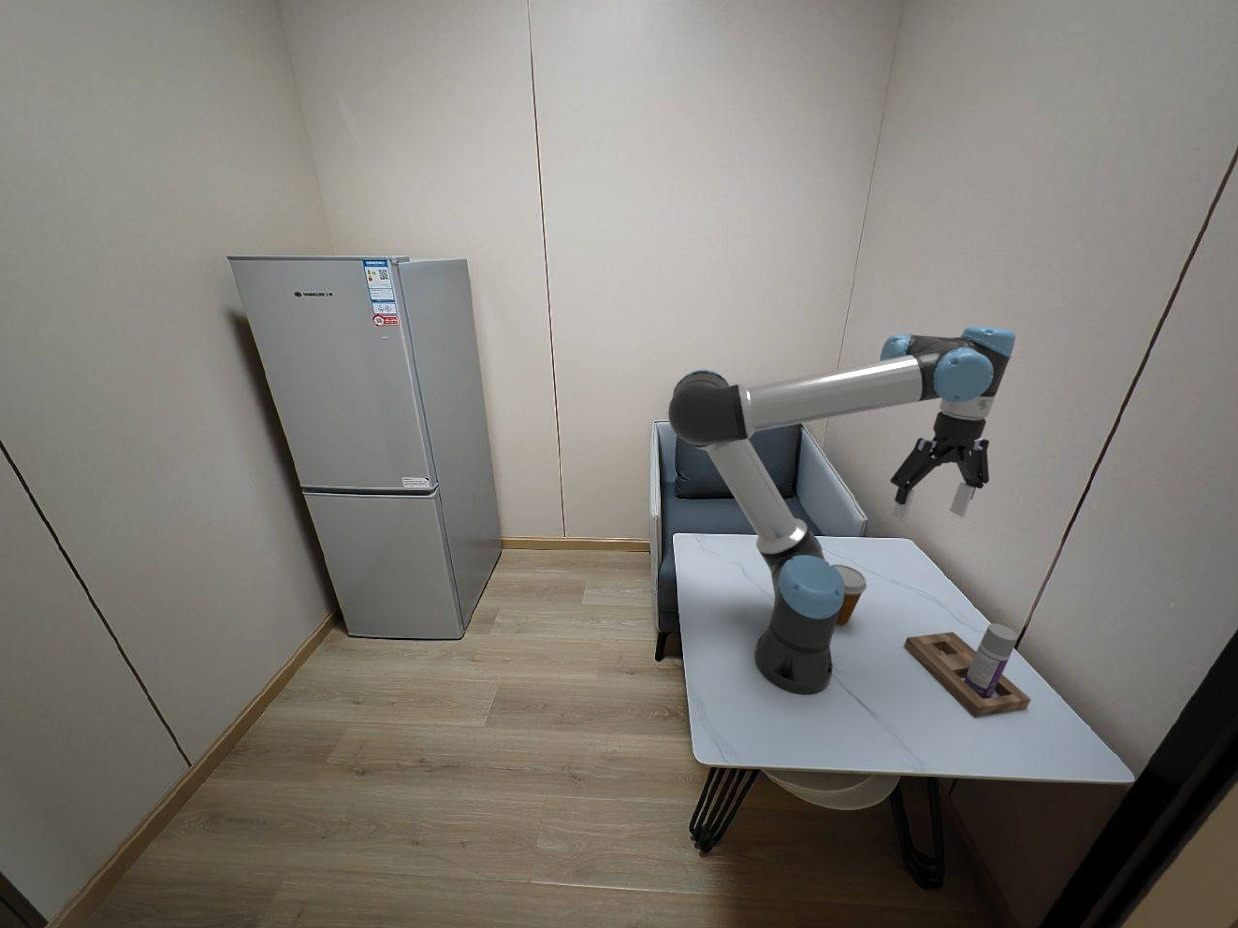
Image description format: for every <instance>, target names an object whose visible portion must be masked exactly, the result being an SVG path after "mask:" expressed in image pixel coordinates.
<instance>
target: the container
mask: <svg viewBox="0 0 1238 928" xmlns="http://www.w3.org/2000/svg"><path fill="white" fill-rule="evenodd" d="M1017 642H1018V635H1017V633H1016V632H1015V631H1014V630H1013V629H1011V628H1010V627H1008V626H1006V625H1004V624H999V623H994V622H993V623H990V624H989V625H988V626H987V628H986V630H985V633H984V634H983V637H982V639H981V640H980V643H979V644H978V648H977V649H976V654H975V656H974V658H973V661H972V663H971V665H970V668H969V670H968V672H967V675H966V677H964V679H963V681H964V682H965V683H966V684H967V685H968V686H969V687H971V688H972V689H973V690H974V691H975V692H976V693H977V694H978V695H979V696H980V697H981V698H982V699H987V698H992V695H993V693H994V692H995V691H994V689H995V687H996V685H997V683H998V681H999V679H1000V676H1001V674H1003V672H1004V669H1005V668H1006V665H1007V664H1008V661H1009V660H1010V658H1011V655H1012V652H1013V650H1014V648H1015V645H1016V643H1017Z"/></svg>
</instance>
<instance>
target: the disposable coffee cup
mask: <svg viewBox="0 0 1238 928" xmlns="http://www.w3.org/2000/svg"><path fill="white" fill-rule="evenodd" d="M829 566H834V567H835V568H836V569H837V570H838V571H839V573H840V574H841V576H842V578H843V580H844V585H845V589H844V600H843V603H842V606H841V608H840V611H839V615H838V618H837V622H836V625H835V626H844V625H846V624H848V623H849V621H850V619H851V616H852V614H853V612H854V610H855V609H856V606H857V604H858V602H859V600H860V598H861V596H862V594H863V593H864V592H865V590H867V586H868V584H867V581H866V577H865V576H864V574H863V573H862V572H860V571H859V570H858V569H856V568H854V567H851V566H848V565H846V564H838V563H835V564H829Z"/></svg>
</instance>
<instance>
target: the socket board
mask: <svg viewBox="0 0 1238 928" xmlns="http://www.w3.org/2000/svg"><path fill="white" fill-rule="evenodd" d="M904 642H905V643H904V644H903V647H904V648H905V649H906V650H907V651H908V652H909V653H910V655H912V657H914V658H915V659H916V660H917V661H918V662H919V663H920V664H921V666H923V667H924V668H925V669H926V670H927V671H928V672H929V674H931V675H932V676H933V677H934V678H935V679H936V680H937V681H938V682H939V684H940V685H942V687H944V688H945V690H946V691H948V693H950V695H952V696H953V697H954V699H956V701H957V702H958V703H960V705H962V707H963V708H964V709H966V710H967V712H968V713H970V715H971V716H972V717H973V718H977V717H983V716H989V715H997V714H1001V713H1007V712H1014V711H1019V710H1021V711H1022V710H1027V708H1028V706H1029V704H1030V702H1031V701H1032V698H1030V697H1029V696H1028V695H1027V694H1026V693H1025V692H1024V691H1022V690H1021V689H1020V688H1019V687H1018V686H1017V685H1015V684H1014V683H1013V682H1012V681H1011V680H1010V679H1009V678H1007V677H1006V676H1005V675H1003V673H1002V674H1001V676H1000V679H999V681H998V683H997V685H996V687H995V689H994V691H993V692H994V693H996V694H997V695H998V696H994V697H990V698H987V699H982V698H981V697H980V696H979V695H978V694H977V693H976V692H975V691H974V690H973V689H972V688H971V687H969V686H968V685H967V684H966V683H965V682H964V679H962V678H965V677H966V675H967V672H968V670H969V668H970V665H971V663H972V661H973V658H974V656H975V654H976V652H977V650H975V649H973V648H972V647H971V646H970V645H969V644H968V643H967V642H966V641H964V639H962V638H961V637H960V636H958V634H956V633H955V632H954V631H950V632H949V631H948V632H944V633H943V632H942V633H935V634H934V633H933V634H925V635H924V634H923V635H917V636H911V637H909V636H908V637H906V640H905V641H904Z"/></svg>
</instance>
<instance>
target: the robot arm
mask: <svg viewBox="0 0 1238 928" xmlns="http://www.w3.org/2000/svg"><path fill="white" fill-rule="evenodd" d="M962 332H963V333H961V336H960V337H944V336H943V337H942V336H931V335H919V334H911V333H909V334H893V335H891V336H889V337H888V338H887V339H886V341H885V342H884V343H883V346H882V350H881V352H880V357H879V360H878V361H873V362H869V363H864V364H859V365H853V366H849V367H845V368H840V369H834V370H829V371H826V372H825V371H824V372H820V373H816V374H810V375H806V376H805V375H804V376H800V377H797V378H792V379H786V380H782V381H781V380H780V381H777V382H772V383H765V384H762V385H757V386H753V387H745V386H744V385H743V384H740V383H737V384H734V385H730V384H729V382H728V380H726V378H724V377H723V376H722V374H720V373H718V372H716V371H714V370H711V369H706V368H703V369H697V370H693V371H690V372H689V373H687V374H686V375H684V376H683V377H682V378H681V379H680V380H679V381H678V382H677V383H676V386H675V387H674V390H673V394H672V398H671V400H670V401H669V407H668V412H667V413H668V421H669V425H670V427H671V429H672V431H674V434H676V435H677V437H679V438H680V439H681V440H682V441H685V442H687V443H688V444H692V445H693V446H694V447H695V448H696V449H698V450H702V451H705V452H706V453H707V454H708V456H709V457H710V460H711V461H712V462H713V464H714V466H715V467H716V469H717V472H718V473H719V475H720V476H721V478H722V479H723V482H725V484H726V486H727V487H728V489H729V490H730V492H731V494H732V496H733V497H734V499H735V500H736V502H737V504H738V505H739V507H740V509H741V511H742V512H743V514H744V515H745V517H746V519H747V520H748V522H749V523H750V525H751V527H752V529H753V530H754V532H755V534H756V535H757V538H756V539H757V540H756V543H755V545H756V548H757V550H758V551H759V553H760V555H761V556H762V558H763V560H764V562H765V563H766V565H767V567H768V568H769V571H770V575H771V579H772V580H771V581H772V587H773V592H774V603H773V607H772V608H773V609H772V612H771V613H772V614H771V617H770V618H771V619H770V622H769V626H767V628H766V630H765V632H764V633H763V634H762V635H761V636H760V637H759V639H758V641H757V643H756V647H755V652H754V660H755V663H756V666H757V667H758V669H759V671H760V672H761V674H762V675H763V676H764V677H766V679H768V680H769V681H770V682H771V683H772V684H774V685H776V686H777V687H779V688H781V689H783V690H785V691H788V692H791V693H795V694H798V695H799V694H801V695H812V694H816V693H819V692H821V691H824V690H826V688H827V687H828V686H829V684H830V681H831V679H832V676H833V675H832V674H833V660H832V654H831V647H830V645H831V641H832V639H833V635H834V632H835V628H836V626H837V625H836V622H837V618H838V615H839V611H840V608H841V606H842V603H843V600H844V589H845V585H844V580H843V578H842V576H841V574H840V573H839V571H838V570H837V569H836V568H835V567H834V566H830V562H828V561H826V558H825V555H824V553H823V548H822V545H821V543H820V541H819V539H818V538H817V536H815V535H814V533H813V532H812V531H811V530H810V529H809V527H808V526H807V523H806V522H805V521H804V520H802V519H800V518H795V517H794V516H793V514H792V512H791V511H790V509H789V507H788V505H787V503H786V502H785V500H784V499H783V496H782V495H781V493H780V492H779V490H778V488H777V486H776V484H775V483H774V481H773V479H772V477H771V476H770V474H769V473H768V471H767V469H766V467H765V466H764V464H763V462H762V460H761V459H760V457H759V455H758V454H757V452H756V450H755V448H754V447H753V444H752V443H751V441H750V440H749V439H750V438H751V437H752V436H753V435H754V433H756V432H761V431H766V430H771V429H776V428H781V427H788V426H792V425H793V426H794V425H797V424H798V425H799V424H805V423H810V422H814V421H820V420H825V419H826V420H827V419H831V418H836V417H841V416H848V415H852V414H859V413H864V412H869V411H874V410H879V409H880V410H881V409H885V408H891V407H896V406H901V405H902V406H903V405H906V404H912V403H918V402H923V401H930V400H937V399H941V402H940V405H939V409H940V411H939V412H937V414H936V418H935V421H934V423H933V428H932V429H933V433H934V436H933V438H932V439H931V440H927V439H925V438H922V437H919V438H917V440H916V443H915V445H914V448H913V450H911V452H910V453H909V455H908V456H907V457H906V459H905V460H904V461H903V463H902V464H901V465H900V466H899V468H898V469H897V470H896V472H895V473H894V475H892V477H891V478H890V480H889V481H890V484H893V485H894V486H896V487H897V491H896V494H895V498H894V502H895V504H894V507H893V511H892V516H894V517H895V518H897V519H899V520H900V521H901V522H905V521H906V520H907V517H908V513H909V511H910V508H911V504H912V501H913V498H914V495H915V492H916V491H915V490H914V487H916V486H917V485H918V484H919V483H920V482H921V481H922V480H923V479H924V478H926V476H927V475H929V474H930V473H931V472H932V471H933V470H934V469H935V468H936V467H940V466H942V464H949V463H954V464H957V467H958V469H959V472H960V474H961V477H962V478H963V480H964V481H961V482H959V484H958V487H957V490H956V492H955V495H954V498H953V501H952V503H951V506H950V509H949V511H950V512H951V513H952V514H955V515H957V516H958V517H959V518H964V517H965V515H966V512H967V510H968V508H969V504H970V501H972V499H973V498H974V495H975V492H976V489H979V490H980V489H983V487H984V486H985V485H984V484H988V483H989V482H990V475H989V461H988V448H989V444H990V441H989V440H988V439H985V438H982V435H983V432H984V430H985V428H986V423H987V420H986V419H985V418H988V417H989V415H990V413H991V409H992V406H993V403H994V401H995V398H996V395H997V392H998V390H999V388H1000V385H1001V382H1002V380H1003V377H1004V374H1005V371H1006V368H1007V367H1008V364H1009V361H1010V360H1011V358H1012V354H1013V349H1014V346H1015V341H1016V337H1017V336H1016V333H1015V332H1014V331H1013V330H1012V329H1008V328H1002V327H993V326H984V325H983V326H981V325H980V326H979V325H978V326H977V325H976V326H975V325H973V326H972V325H971V326H967V327H966V328H964V330H963V331H962Z"/></svg>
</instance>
